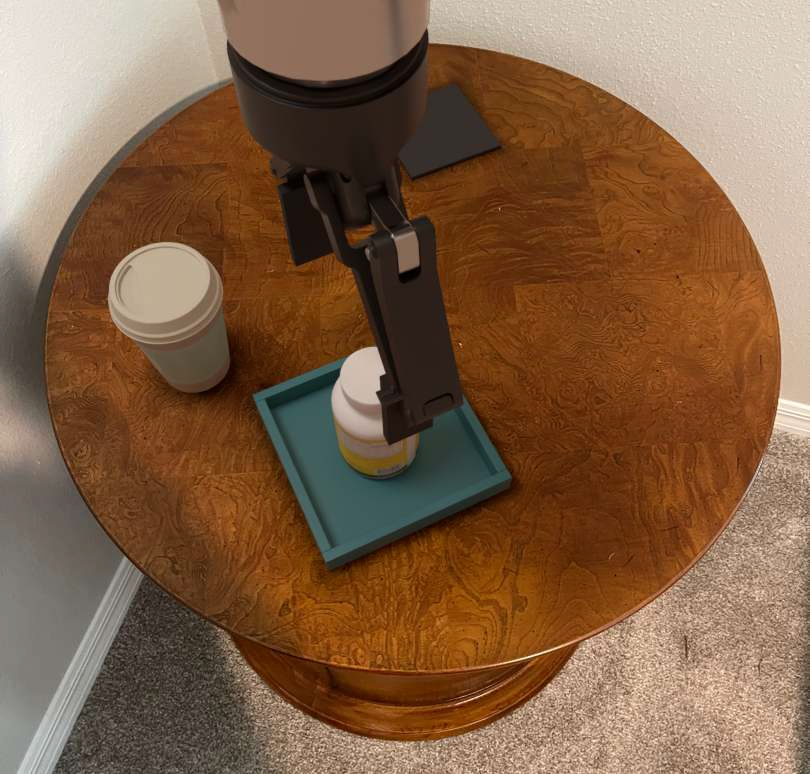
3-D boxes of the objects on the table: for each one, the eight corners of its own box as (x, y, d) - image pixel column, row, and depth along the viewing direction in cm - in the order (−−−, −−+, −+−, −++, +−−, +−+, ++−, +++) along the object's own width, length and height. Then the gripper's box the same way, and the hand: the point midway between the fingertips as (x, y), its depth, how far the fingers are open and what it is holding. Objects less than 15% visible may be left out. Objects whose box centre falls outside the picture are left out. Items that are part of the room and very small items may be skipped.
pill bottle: (390, 396, 69) (386, 319, 59) (434, 454, 67) (439, 384, 57) (324, 436, 68) (309, 364, 57) (367, 497, 65) (359, 432, 55)
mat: (500, 147, 84) (501, 145, 83) (411, 180, 82) (411, 177, 81) (455, 86, 88) (455, 83, 88) (370, 115, 86) (370, 112, 86)
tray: (509, 488, 66) (512, 477, 64) (328, 571, 62) (325, 562, 60) (422, 339, 72) (423, 325, 71) (256, 407, 69) (252, 394, 67)
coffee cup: (166, 315, 74) (126, 228, 63) (258, 331, 73) (232, 245, 62) (132, 397, 70) (82, 318, 59) (228, 415, 69) (196, 338, 58)
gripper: (129, -125, 35) (226, 212, 53) (375, 317, 24) (390, 548, 42) (294, -168, 36) (332, 174, 55) (596, 228, 25) (517, 489, 44)
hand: (358, 337), depth 49 cm, fingers open, 13 cm apart
